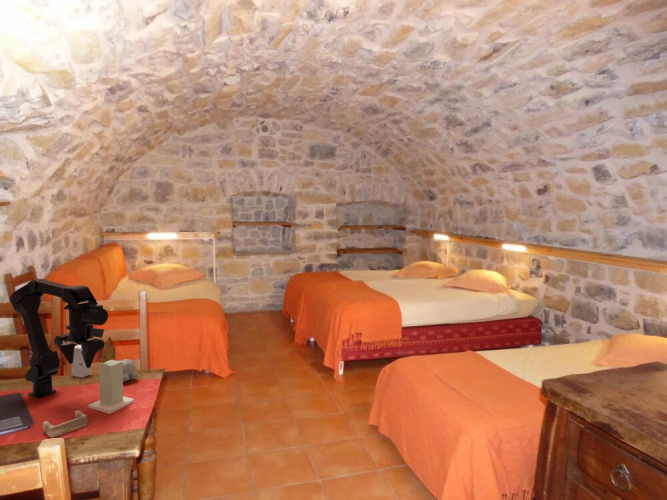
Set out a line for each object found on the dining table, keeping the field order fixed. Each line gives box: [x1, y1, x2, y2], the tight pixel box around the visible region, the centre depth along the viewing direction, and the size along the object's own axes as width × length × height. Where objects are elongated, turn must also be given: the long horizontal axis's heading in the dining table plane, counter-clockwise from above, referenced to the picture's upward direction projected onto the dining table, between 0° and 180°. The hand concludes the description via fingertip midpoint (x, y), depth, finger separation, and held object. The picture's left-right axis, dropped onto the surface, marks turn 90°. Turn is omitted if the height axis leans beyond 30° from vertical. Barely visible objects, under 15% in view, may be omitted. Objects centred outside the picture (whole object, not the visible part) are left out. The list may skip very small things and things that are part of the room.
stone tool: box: [101, 336, 117, 364], centre depth 174 cm, size 5×2×15 cm, turn 126°
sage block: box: [98, 360, 124, 406], centre depth 144 cm, size 5×5×14 cm
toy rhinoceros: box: [120, 358, 139, 383], centre depth 166 cm, size 7×12×8 cm, turn 54°
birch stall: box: [42, 410, 88, 439], centre depth 128 cm, size 6×10×3 cm, turn 145°
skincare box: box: [71, 344, 92, 379], centre depth 169 cm, size 6×4×12 cm
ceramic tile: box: [88, 395, 135, 415], centre depth 144 cm, size 10×10×1 cm
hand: (79, 365), depth 145 cm, fingers open, 9 cm apart
